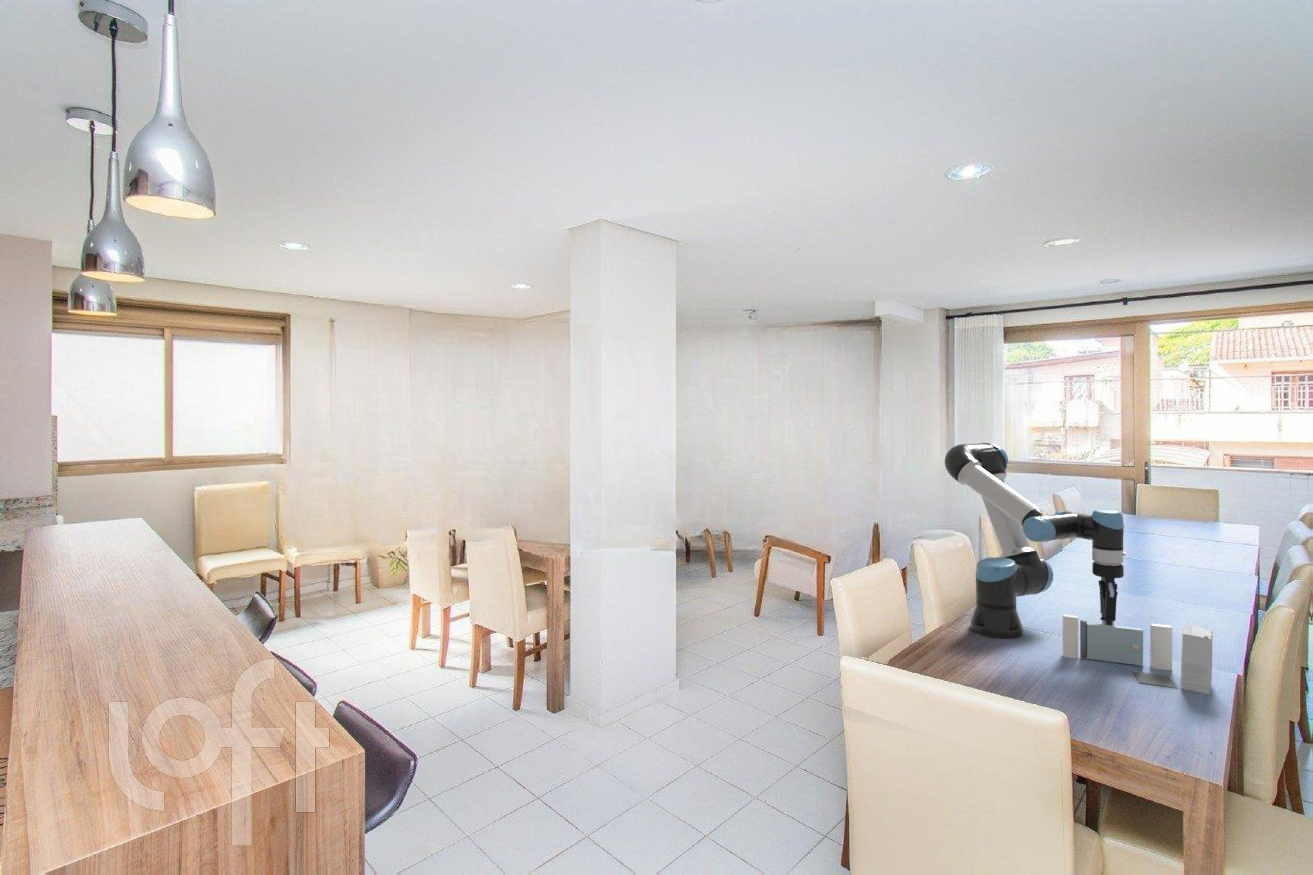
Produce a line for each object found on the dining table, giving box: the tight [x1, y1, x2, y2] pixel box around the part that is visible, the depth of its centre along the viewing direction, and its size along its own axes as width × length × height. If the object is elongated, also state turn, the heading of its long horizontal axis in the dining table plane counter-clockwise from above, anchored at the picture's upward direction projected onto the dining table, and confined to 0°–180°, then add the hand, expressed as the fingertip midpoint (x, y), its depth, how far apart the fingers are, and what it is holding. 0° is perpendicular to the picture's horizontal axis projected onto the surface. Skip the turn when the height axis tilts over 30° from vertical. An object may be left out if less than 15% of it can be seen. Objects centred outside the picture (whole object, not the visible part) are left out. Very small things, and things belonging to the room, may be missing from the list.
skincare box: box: [1180, 624, 1214, 696], centre depth 162 cm, size 8×6×15 cm
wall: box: [1062, 614, 1173, 672], centre depth 179 cm, size 25×2×12 cm, turn 63°
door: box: [1079, 620, 1144, 667], centre depth 178 cm, size 15×3×11 cm, turn 63°
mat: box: [1132, 670, 1179, 689], centre depth 167 cm, size 8×8×1 cm
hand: (1107, 641), depth 186 cm, fingers closed
